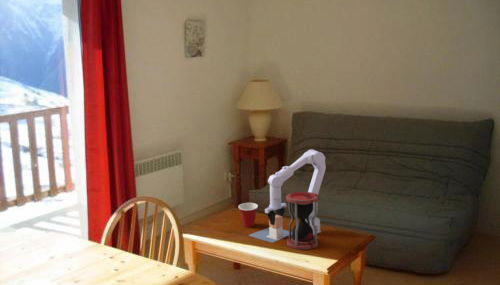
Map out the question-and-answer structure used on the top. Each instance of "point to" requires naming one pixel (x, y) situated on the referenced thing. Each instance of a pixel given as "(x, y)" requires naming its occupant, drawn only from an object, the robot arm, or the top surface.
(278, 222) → the terracotta block
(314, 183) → the robot arm
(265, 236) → the mat
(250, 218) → the plastic cup
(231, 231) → the top surface
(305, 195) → the hourglass
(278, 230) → the offwhite block
